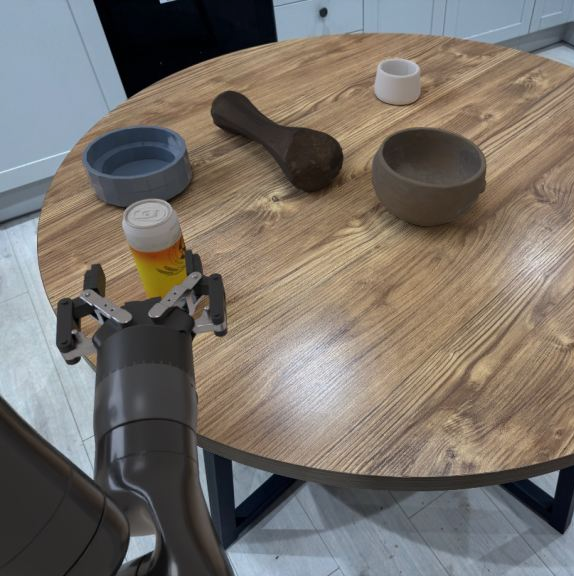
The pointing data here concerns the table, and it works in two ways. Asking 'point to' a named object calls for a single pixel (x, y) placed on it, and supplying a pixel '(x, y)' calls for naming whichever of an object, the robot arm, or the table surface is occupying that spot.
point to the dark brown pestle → (282, 141)
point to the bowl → (428, 175)
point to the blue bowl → (137, 164)
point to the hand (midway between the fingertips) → (144, 262)
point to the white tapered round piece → (397, 81)
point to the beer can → (156, 245)
